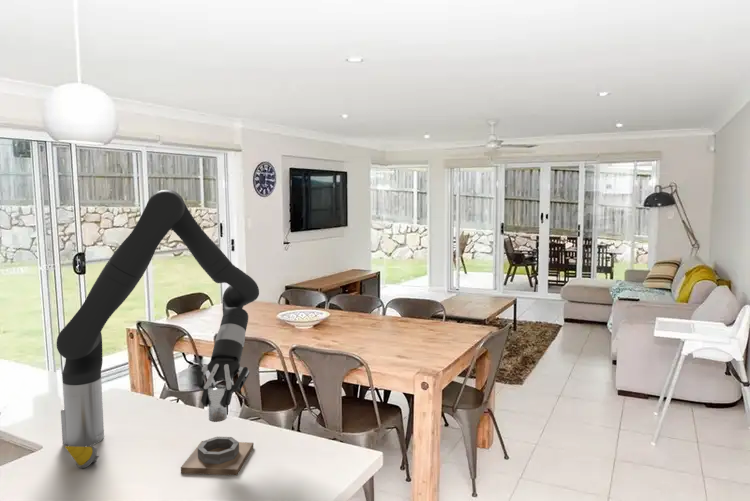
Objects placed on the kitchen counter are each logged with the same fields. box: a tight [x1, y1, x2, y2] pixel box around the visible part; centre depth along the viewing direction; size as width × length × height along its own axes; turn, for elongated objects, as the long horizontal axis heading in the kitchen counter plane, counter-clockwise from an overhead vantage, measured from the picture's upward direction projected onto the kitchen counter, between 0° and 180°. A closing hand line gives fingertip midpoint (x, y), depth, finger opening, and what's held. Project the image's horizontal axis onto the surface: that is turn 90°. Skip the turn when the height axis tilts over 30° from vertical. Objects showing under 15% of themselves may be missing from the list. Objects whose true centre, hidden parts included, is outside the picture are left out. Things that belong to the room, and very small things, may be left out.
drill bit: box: [64, 445, 100, 469], centre depth 135 cm, size 5×5×10 cm
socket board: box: [180, 436, 254, 476], centre depth 139 cm, size 14×14×4 cm
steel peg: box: [208, 384, 228, 423], centre depth 138 cm, size 4×4×8 cm
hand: (214, 405), depth 136 cm, fingers closed on steel peg, 4 cm apart
